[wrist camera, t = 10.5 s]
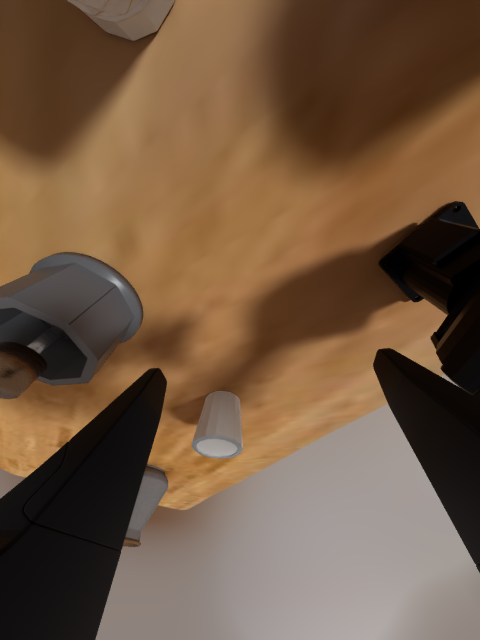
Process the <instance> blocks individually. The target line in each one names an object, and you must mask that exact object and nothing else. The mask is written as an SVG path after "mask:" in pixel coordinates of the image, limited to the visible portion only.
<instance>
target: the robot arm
mask: <svg viewBox="0 0 480 640" xmlns="http://www.w3.org/2000/svg"><path fill="white" fill-rule="evenodd" d="M456 206H457V208H456V209H455V211H453V209H454V208H455V207H456ZM387 261H388V263H387V264H386V265H384V264H385V263H386V262H387ZM379 265H380V267H381V268H382V269H383V270H384V271H385V272H386V273H387V275H388V276H389V277H390V278H391V279H392V280H393V281H394V282H395V283H396V284H397V285H398V287H399V288H400V289H401V290H402V291H403V292H404V293H405V294H406V295H407V296H408V297H409V299H410V300H412V301H413V302H419V301H421V300H422V299H426V300H427V301H429V302H430V303H431V304H433V305H434V306H436V307H437V308H438V309H440V310H441V311H443V312H444V313H445V314H447V315H448V316H447V317H446V318H445V320H444V321H443V323H442V324H441V326H440V327H439V329H438V330H437V332H434V333H433V335H432V336H431V340H432V342H433V344H434V346H435V348H436V354H437V356H438V357H439V359H440V361H441V363H442V364H443V365H442V366H441V370H442V371H443V373H444V374H445V375H446V376H448V377H449V379H451V380H452V381H453V382H454V383H455V384H457V385H458V386H459V387H458V386H456V385H454V384H453V383H451V382H449V381H447V380H446V379H444V378H442V377H440V376H439V375H437V374H435V373H433V372H432V371H430V370H428V369H426V368H425V367H423V366H421V365H419V364H418V363H416V362H414V361H412V360H411V359H409V358H407V357H405V356H404V355H402V354H400V353H398V352H397V351H395V350H393V349H391V348H386V349H379V350H378V351H377V353H376V357H375V360H374V363H373V367H374V370H375V373H376V375H377V378H378V380H379V383H380V385H381V388H382V390H383V392H384V395H385V397H386V400H387V402H388V404H389V406H390V408H391V410H392V412H393V414H394V416H395V418H396V420H397V421H398V423H399V425H400V427H401V429H402V430H403V432H404V434H405V436H406V438H407V440H408V442H409V443H410V445H411V447H412V449H413V451H414V453H415V454H416V456H417V458H418V460H419V462H420V463H421V466H422V467H423V469H424V471H425V473H426V475H427V477H428V478H429V480H430V482H431V484H432V486H433V488H434V489H435V491H436V493H437V495H438V497H439V498H440V500H441V502H442V504H443V506H444V508H445V510H446V511H447V513H448V515H449V517H450V519H451V521H452V522H453V524H454V526H455V528H456V530H457V531H458V534H459V535H460V537H461V539H462V541H463V543H464V545H465V546H466V548H467V550H468V552H469V554H470V556H471V557H472V559H473V561H474V563H475V564H476V567H477V569H478V571H479V572H480V229H479V227H478V226H477V224H476V222H475V221H474V219H473V217H472V215H471V214H470V212H469V210H468V209H467V207H466V205H465V204H464V203H463V202H458V201H455V202H452V203H451V204H449V205H448V206H447V207H446V208H444V209H443V210H442V211H441V212H439V213H438V214H437V215H436V216H434V217H433V218H432V219H430V220H429V221H428V222H426V223H425V224H424V225H423V226H421V227H420V228H419V229H418V230H416V231H415V232H414V233H413V234H411V235H410V236H409V237H408V238H407V239H405V240H404V241H403V242H402V243H401V244H400V245H399V246H397V247H396V248H395V249H394V250H392V251H391V252H390V253H389V254H387V255H386V256H385V257H384V258H382V259H381V261H380V262H379ZM417 296H418V297H417ZM166 386H167V380H166V378H165V376H164V375H163V373H162V371H161V370H160V369H159V368H151V369H149V370H148V371H146V372H145V373H144V374H143V375H142V376H141V377H140V378H139V379H137V380H136V381H135V382H134V383H133V384H132V385H131V386H130V387H129V388H127V389H126V390H125V391H124V392H123V393H122V394H121V395H120V396H118V397H117V398H116V399H115V400H114V401H113V402H112V403H111V404H110V405H108V406H107V407H106V408H105V409H104V410H103V411H102V412H101V413H99V414H98V415H97V416H96V417H95V418H94V419H93V420H92V421H91V422H89V423H88V424H87V425H86V426H85V427H84V428H83V429H82V430H80V431H79V432H78V433H77V434H76V435H75V436H74V437H73V438H72V439H70V441H69V442H67V443H66V444H65V445H64V446H63V447H61V448H60V449H59V450H58V451H57V452H56V453H55V454H53V455H52V456H51V457H50V458H49V459H48V460H47V461H45V462H44V463H43V464H42V465H41V466H40V467H38V468H37V469H36V470H35V471H34V472H32V473H31V474H30V475H29V476H28V477H26V478H25V479H24V480H23V481H22V482H21V483H19V484H18V485H17V486H15V487H14V488H13V489H12V490H11V491H9V492H8V493H7V494H6V495H5V496H3V497H2V498H1V499H0V640H95V639H96V635H97V632H98V628H99V625H100V622H101V618H102V615H103V612H104V608H105V605H106V601H107V598H108V594H109V591H110V588H111V584H112V581H113V578H114V574H115V571H116V567H117V564H118V561H119V557H120V554H121V550H122V547H123V543H124V540H125V537H126V533H127V530H128V526H129V523H130V520H131V516H132V513H133V510H134V506H135V503H136V499H137V496H138V493H139V489H140V486H141V482H142V479H143V476H144V472H145V469H146V466H147V462H148V459H149V455H150V452H151V449H152V445H153V442H154V438H155V435H156V432H157V428H158V425H159V421H160V417H161V413H162V408H163V402H164V397H165V392H166Z"/></svg>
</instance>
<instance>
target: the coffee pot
mask: <svg viewBox="0 0 480 640" xmlns="http://www.w3.org/2000/svg"><path fill="white" fill-rule="evenodd" d="M167 489H168V480H167V477H166V476H165V475H164V471H163V470H162V469H160V468H158V467H155V466H150V465H147V466H146V469H145V472H144V476H143V479H142V482H141V486H140V489H139V493H138V496H137V499H136V503H135V506H134V510H133V513H132V516H131V520H130V523H129V526H128V530H127V533H126V537H125V540H124V543H123V546H128V547H136V546H137V547H138V546H140V545H141V543H140V542H139V541H140V534H141V531H142V529H143V528H144V526H145V524H146V523H147V521H148V519H149V518H150V516H151V515H152V513H153V512H154V510H155V508H156V507H157V505H158V504H159V502H160V500H161V499H162V497H163V495H164V494H165V492H166V491H167Z"/></svg>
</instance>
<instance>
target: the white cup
mask: <svg viewBox="0 0 480 640" xmlns="http://www.w3.org/2000/svg"><path fill="white" fill-rule="evenodd" d="M67 1H68V2H70V3H72V4H73V5H75V6H76V7H78V8H79V9H80V10H82V11H83V12H84V13H85V14H86V15H87V16H88V17H90V18H91V19H92V20H93V21H94V22H95V23H96V24H97V25H99V26H100V27H101V28H102V29H103V30H104V31H106V32H107V33H110V34H113V35H116V36H119V37H122V38H125V39H129V40H132V41H136V40H138V39H140V38H142V37H145V36H147V35H149V34H152V33H154V32H156V31H158V29H159V27H160V26H161V24H162V22H163V21H164V19H165V17H166V16H167V14H168V12H169V11H170V9H171V7H172V5H173V4H174V2H175V0H67Z"/></svg>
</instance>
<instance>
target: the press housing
mask: <svg viewBox="0 0 480 640" xmlns="http://www.w3.org/2000/svg"><path fill="white" fill-rule="evenodd" d="M40 319H41V320H43V321H46V322H48V323H50V324H52V325H55V326H57V327H59V328H61V329H63V330H64V331H65V332H66V334H67V335H68V336H69V337H70V338H71V340H72V341H70V340H67V339H65V338H63V337H61V336H60V337H59V338H58V339H56V340H55V341H54V342H53V343H52V344H50V345H49V346H48V347H47V348H46V349H45V350H43V351H42V352H41V353H40V355H41V356H42V357H43V358H44V359H45V360H46V362H47V365H48V368H47V370H46V371H45V372H44V373H42V374H41V375H40V376H39V377H38V378H37V379H36V380H39V381H42V382H44V383H47V384H50V385H67V384H80V383H88V382H90V380H91V379H92V378H93V377H94V375H95V374H96V373H97V371H98V370H99V369H100V368H101V366H102V365H103V364H104V362H105V361H106V360H107V359H108V357H109V356H110V355H111V353H112V352H113V351H114V350H115V348H116V347H117V346H118V344H119V343H122V342H125V341H127V340H129V339H130V338H131V337H132V336H133V335H134V334H135V333H136V332H137V330H138V329H139V327H140V326H141V323H142V320H143V307H142V304H141V301H140V299H139V296H138V294H137V293H136V291H135V289H134V288H133V287H132V285H131V284H130V283H129V282H128V281H127V280H126V279H125V278H124V277H123V276H122V275H121V274H120V273H119V272H118V271H116V270H115V269H114V268H112V267H111V266H109V265H107V264H106V263H104V262H102V261H100V260H98V259H96V258H93V257H91V256H88V255H84V254H80V253H74V252H63V253H57V254H53V255H51V256H48V257H46V258H44V259H42V260H40V261H38V262H37V263H36V264H35V265H34V266H33V267H32V269H31V271H30V274H28V275H25V276H23V277H21V278H19V279H16V280H14V281H12V282H10V283H7V284H5V285H3V286H1V287H0V343H2V342H15V343H19V344H22V345H25V346H28V345H29V344H30V343H32V342H33V341H34V340H35V339H37V338H38V337H39V336H41V335H42V334H43V333H45V332H46V331H47V330H48V329H49V328H48V327H47V326H46V325H45V324H44V323H43V322H42V321H41V320H40Z"/></svg>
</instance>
